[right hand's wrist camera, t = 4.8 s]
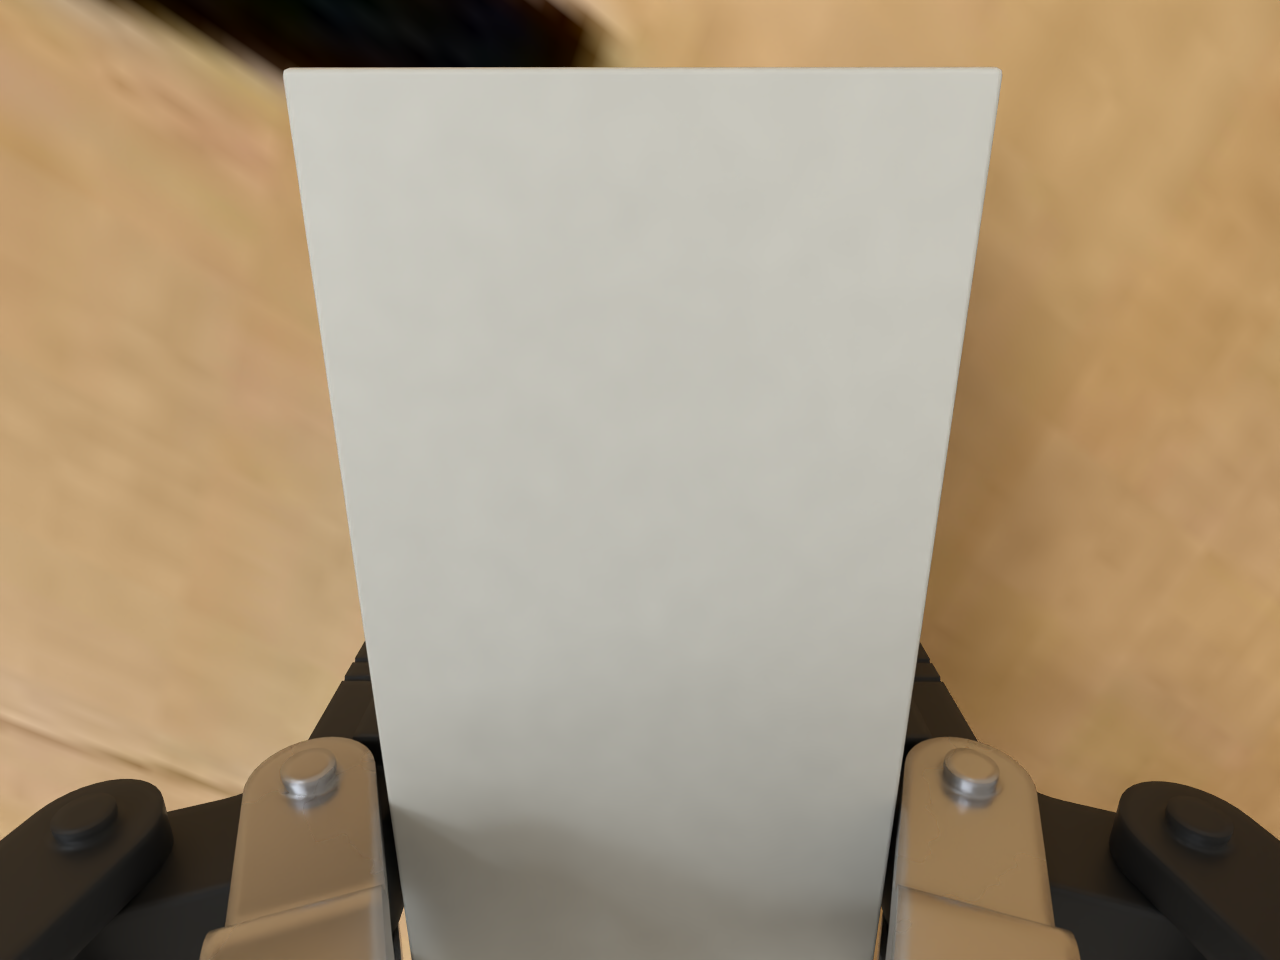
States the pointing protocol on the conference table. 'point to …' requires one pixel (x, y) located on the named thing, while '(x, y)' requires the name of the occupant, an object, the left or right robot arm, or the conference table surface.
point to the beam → (642, 480)
